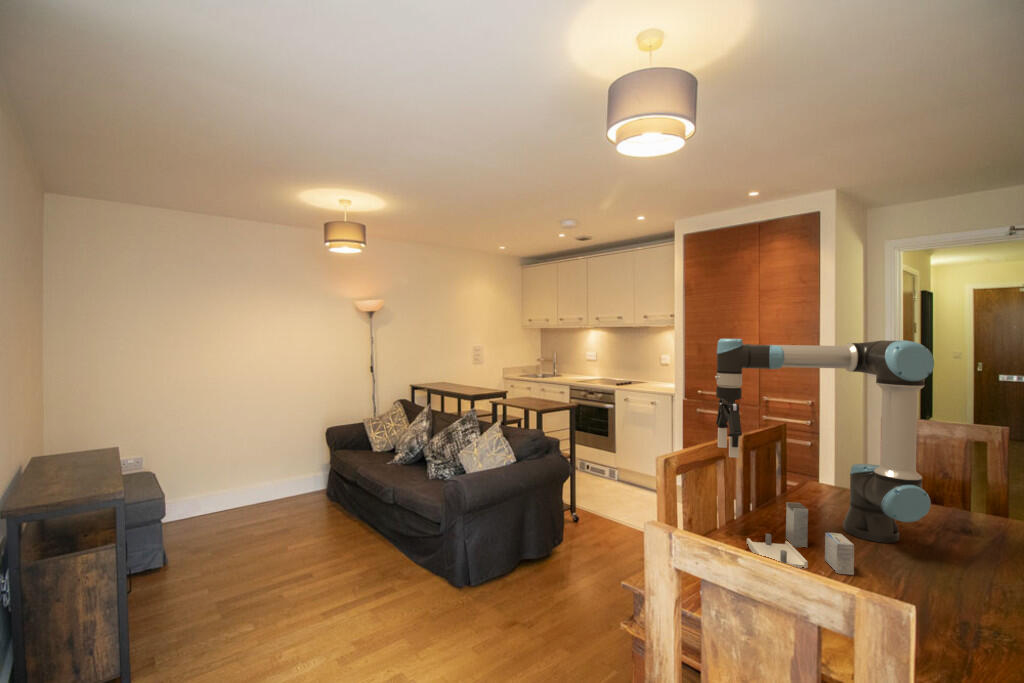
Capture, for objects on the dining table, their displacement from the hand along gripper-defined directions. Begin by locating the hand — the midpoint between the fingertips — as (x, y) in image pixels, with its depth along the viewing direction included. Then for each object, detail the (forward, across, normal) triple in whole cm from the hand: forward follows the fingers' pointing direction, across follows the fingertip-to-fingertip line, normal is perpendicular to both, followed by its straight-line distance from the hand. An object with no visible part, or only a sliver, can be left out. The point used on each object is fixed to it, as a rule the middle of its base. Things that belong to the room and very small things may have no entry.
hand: (727, 452), depth 158 cm
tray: (+28, +11, +11) cm, 32 cm away
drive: (+28, 0, +21) cm, 35 cm away
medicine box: (+28, +16, +26) cm, 42 cm away
